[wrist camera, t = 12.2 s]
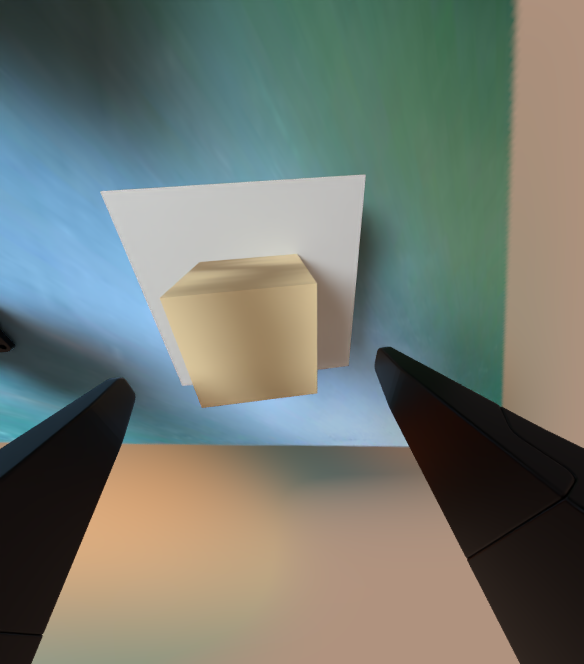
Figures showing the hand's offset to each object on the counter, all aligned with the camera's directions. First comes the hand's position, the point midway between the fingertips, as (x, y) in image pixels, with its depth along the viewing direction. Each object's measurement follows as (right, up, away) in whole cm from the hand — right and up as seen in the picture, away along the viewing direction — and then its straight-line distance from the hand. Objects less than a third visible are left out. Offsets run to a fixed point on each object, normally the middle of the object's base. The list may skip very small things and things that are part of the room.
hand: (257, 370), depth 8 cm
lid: (-1, +4, +5) cm, 7 cm away
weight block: (-1, +3, +5) cm, 6 cm away
